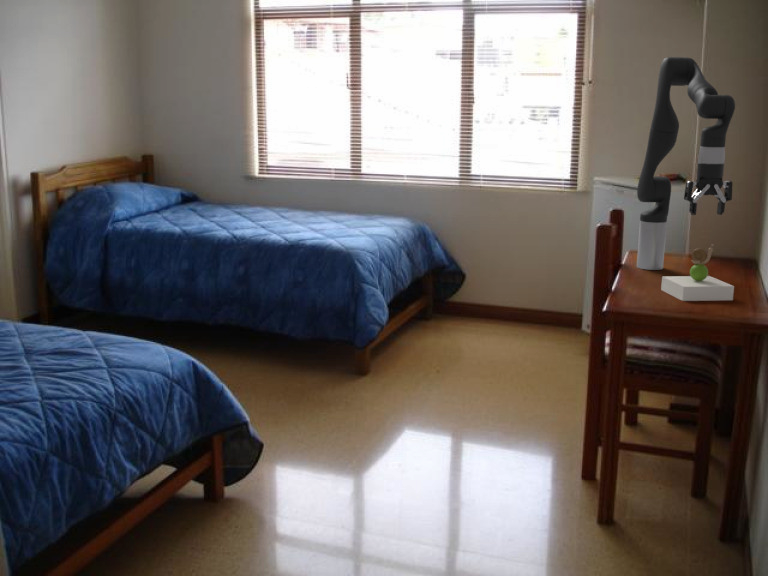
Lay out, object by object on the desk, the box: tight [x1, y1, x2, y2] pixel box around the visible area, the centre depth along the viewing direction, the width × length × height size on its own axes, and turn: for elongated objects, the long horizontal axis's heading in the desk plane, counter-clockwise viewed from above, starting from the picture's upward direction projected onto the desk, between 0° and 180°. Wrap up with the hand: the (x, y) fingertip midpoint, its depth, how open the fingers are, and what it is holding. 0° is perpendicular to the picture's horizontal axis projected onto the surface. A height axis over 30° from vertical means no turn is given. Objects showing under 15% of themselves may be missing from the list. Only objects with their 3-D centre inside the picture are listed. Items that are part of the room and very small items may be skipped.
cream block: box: [660, 275, 735, 302], centre depth 258 cm, size 16×16×5 cm
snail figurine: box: [689, 243, 714, 281], centre depth 256 cm, size 5×6×12 cm
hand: (706, 214), depth 253 cm, fingers open, 8 cm apart
